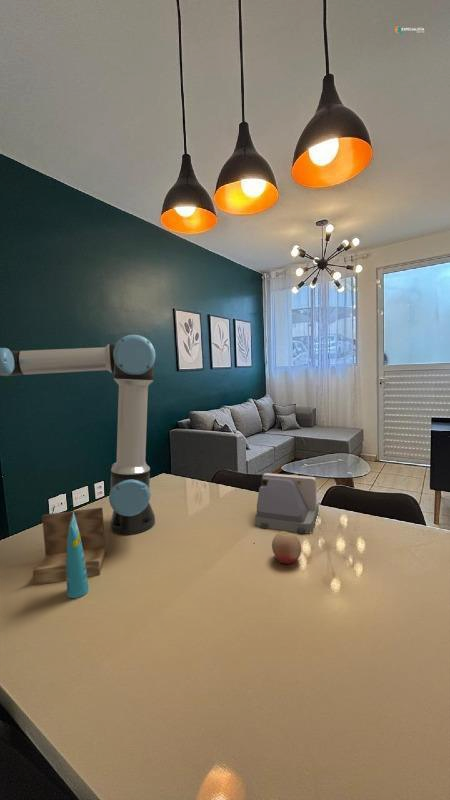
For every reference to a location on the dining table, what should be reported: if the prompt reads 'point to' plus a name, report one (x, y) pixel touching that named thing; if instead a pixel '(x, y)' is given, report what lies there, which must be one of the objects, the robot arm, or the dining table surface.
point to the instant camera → (287, 503)
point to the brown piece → (57, 544)
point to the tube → (75, 563)
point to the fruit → (286, 547)
